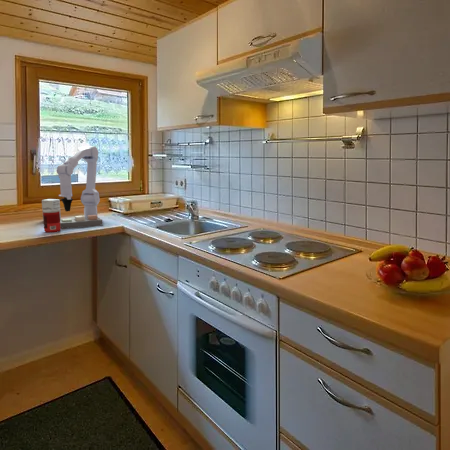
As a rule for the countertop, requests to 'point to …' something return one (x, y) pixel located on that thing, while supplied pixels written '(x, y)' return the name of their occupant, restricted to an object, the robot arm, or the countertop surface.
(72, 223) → the console
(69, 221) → the sage button
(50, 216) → the canned food
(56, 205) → the white canister
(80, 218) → the cream button
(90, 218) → the terracotta button
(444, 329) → the countertop surface
